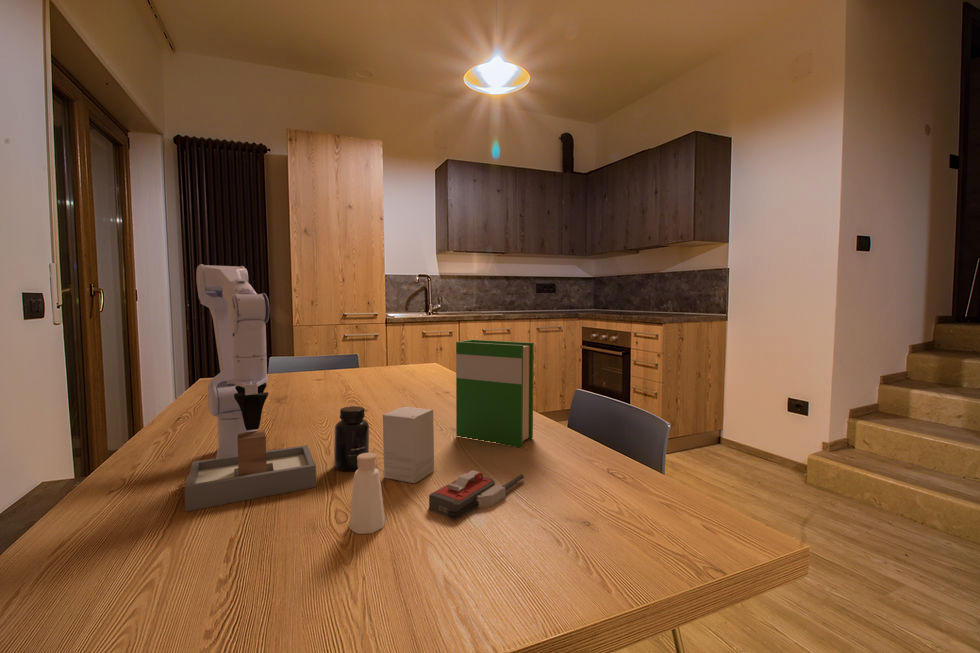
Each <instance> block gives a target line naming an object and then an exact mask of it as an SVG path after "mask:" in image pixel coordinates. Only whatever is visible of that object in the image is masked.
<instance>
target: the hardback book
mask: <svg viewBox="0 0 980 653" xmlns="http://www.w3.org/2000/svg"><path fill="white" fill-rule="evenodd" d="M455 343H456V344H455V358H456V360H455V365H456V366H455V370H456V371H455V374H456V375H455V376H456V377H455V378H456V380H455V381H456V382H455V386H456V389H455V390H456V393H455V394H456V395H455V397H456V398H455V399H456V400H455V401H456V404H455V406H456V408H455V409H456V411H455V413H456V419H455V420H456V423H455V425H456V428H455V429H456V431H455V432H456V436H461V437H467V438H472V439H478V440H484V441H490V442H496V443H500V444H499V445H501V444H505V445H504V446H507V445H511V446H510V447H513V446H516V447H515V448H519V447H522V446H523V445H524V441H525V440H528V439H532V438H533V439H534V350H535V349H534V348H535V346H534V343H535V342H527V341H525V342H524V341H507V340H506V341H505V340H490V339H489V340H485V339H467V340H460V341H456V342H455ZM456 436H455V437H456ZM527 438H528V439H527ZM533 439H532V440H533ZM523 447H524V446H523ZM523 447H522V448H523Z"/></svg>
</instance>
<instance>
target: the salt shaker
mask: <svg viewBox="0 0 980 653" xmlns="http://www.w3.org/2000/svg"><path fill="white" fill-rule="evenodd" d="M376 458H377V454H375V453H374V452H369V453H363V454H360V455H358V456H357V461H358V463H357V466H358V470H355V471H354V474H353V480H352V481H353V482H352V493H351V505H350V516H349V527H348V528H349V530H350V531H352V532H354V533H355V534H357V535H367V534H373V533H375V532H377V531H380V530H381V529H383V528H384V525H385V523H386V517H385V516H386V514H385V508H384V507H385V506H384V500H383V498H384V497H383V493H382V492H383V491H382V483H381V476H380V470H379V469H378V468H376V467H377V466H376V465H377V464H376Z"/></svg>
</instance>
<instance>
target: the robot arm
mask: <svg viewBox="0 0 980 653" xmlns="http://www.w3.org/2000/svg"><path fill="white" fill-rule="evenodd" d="M195 274H196V278H195V279H196V286H197V287H196V288H197V295H198V300H199V302H200V304H201V305H202V306H205V307H206V308H208V309H209V312H210V314H211V317H212V321H213V322H212V323H213V329H214V330H213V331H214V337H215V344H216V350H217V357H218V364H219V373H217V375H215V376H214V377H213V378H211V379H210V381H209V382H208V386H207V392H208V396H207V398H208V399H207V402H208V408H209V409H208V410H209V413H210V415H212V416H213V417H216V419H217V420H216V421H217V443H218V445H217V446H218V447H217V452H216V457H215V458H222V457H229V456H236V455H238V444H237V438H238V433H243V432H251V431H256V430H259V429H260V425H261V420H262V413H263V408H264V405H265V403H266V400H267V398H268V396H269V391H268V392H266V391H265V390H266V387H267V382H269V376H268V366H267V365H268V361H267V360H268V358H267V332H266V330H267V328H266V327H267V325H266V324H267V323H268V321H269V319H270V310H271V309H270V301H269V297H268V296H267V294H266V293H265V292H264V293H263V292H262V293H257V292H256V290H255V289H254V287H252V285H251V284H250V283H249V273H248V270H247V267H246V268H245V266H243V265H240V266H237V265H234V266H233V265H232V266H231V265H209V264H208V265H207V264H206V265H205V264H202V263H201V264H200V263H199V265H198V266H197V267H196V273H195Z"/></svg>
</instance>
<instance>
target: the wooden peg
mask: <svg viewBox="0 0 980 653" xmlns="http://www.w3.org/2000/svg"><path fill="white" fill-rule="evenodd" d="M266 437H267V436H266V429H262V430H259V429H258V430H255V431H251V432H243V433H238V438H237V444H238V473H239V476H245V475H251V474H257V473H263V472H267V463H266V451H267V438H266Z"/></svg>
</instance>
